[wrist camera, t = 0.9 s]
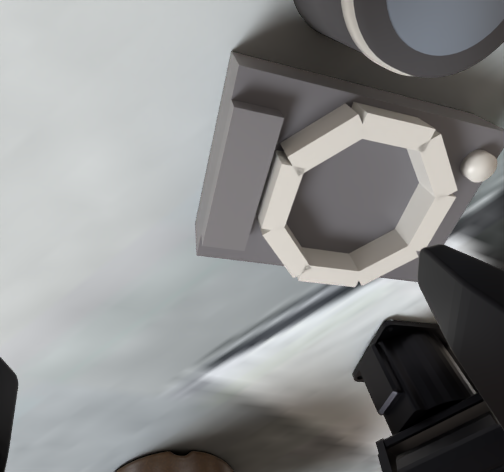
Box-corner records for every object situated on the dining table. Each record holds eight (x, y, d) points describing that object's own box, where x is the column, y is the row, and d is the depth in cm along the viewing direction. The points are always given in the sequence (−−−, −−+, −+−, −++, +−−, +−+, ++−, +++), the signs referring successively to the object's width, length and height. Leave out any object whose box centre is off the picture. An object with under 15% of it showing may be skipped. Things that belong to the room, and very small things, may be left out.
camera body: (473, 113, 21) (536, 145, 17) (397, 251, 25) (433, 300, 22) (231, 51, 17) (243, 73, 14) (195, 223, 22) (197, 274, 18)
